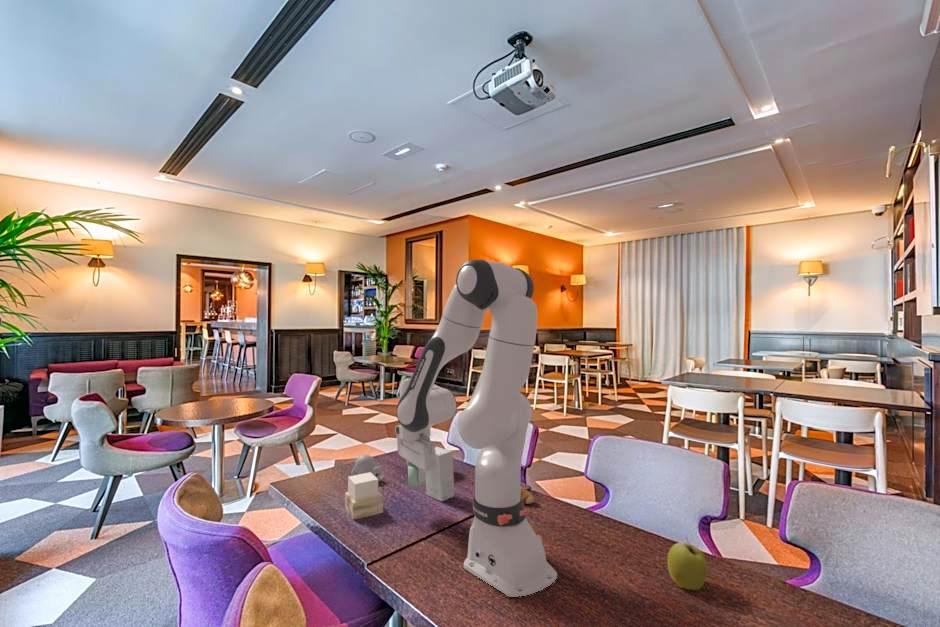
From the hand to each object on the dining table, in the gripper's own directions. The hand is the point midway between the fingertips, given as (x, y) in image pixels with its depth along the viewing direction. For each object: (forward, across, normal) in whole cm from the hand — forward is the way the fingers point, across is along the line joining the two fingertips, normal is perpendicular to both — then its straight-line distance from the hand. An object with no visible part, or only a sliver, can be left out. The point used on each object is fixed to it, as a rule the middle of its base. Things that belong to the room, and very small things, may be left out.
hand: (416, 478), depth 123 cm
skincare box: (+11, +9, -12) cm, 18 cm away
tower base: (+11, +12, +12) cm, 20 cm away
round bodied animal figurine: (+10, +35, +4) cm, 36 cm away
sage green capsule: (+2, 0, 0) cm, 2 cm away
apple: (+14, -60, -36) cm, 72 cm away
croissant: (+12, -3, -29) cm, 32 cm away
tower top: (+6, +12, +13) cm, 18 cm away
